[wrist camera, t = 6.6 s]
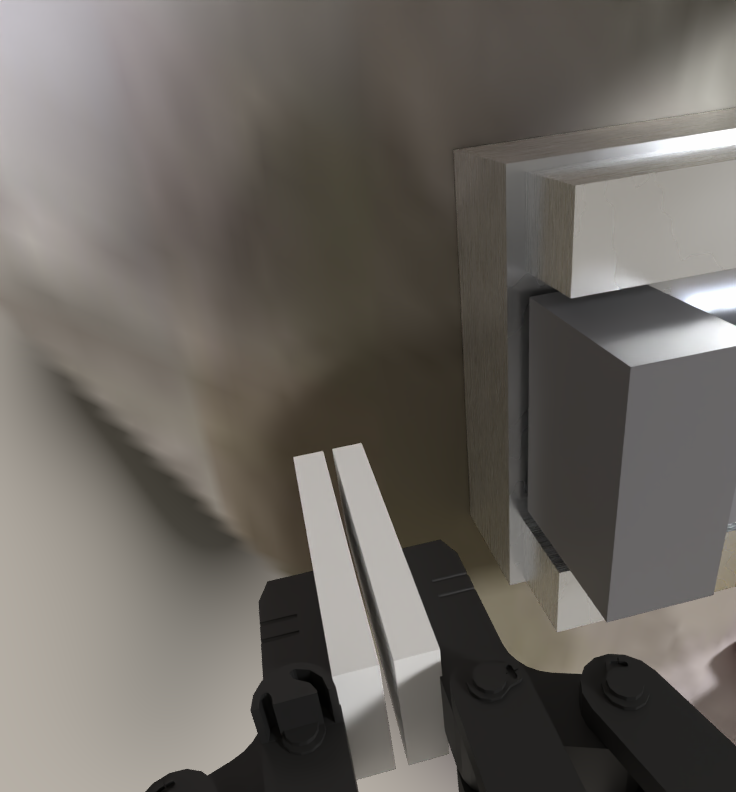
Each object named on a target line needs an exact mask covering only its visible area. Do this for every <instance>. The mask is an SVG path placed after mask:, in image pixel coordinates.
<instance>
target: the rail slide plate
mask: <svg viewBox="0 0 736 792" xmlns="http://www.w3.org/2000/svg"><path fill="white" fill-rule="evenodd" d="M454 172H455V193H456V214H457V236H458V257H459V279H460V300H461V321H462V343H463V364H464V386H465V407H466V428H467V450H468V471H469V493H470V514H471V517H472V519H473V521H474V522H475V524H476V526H477V528H478V530H479V531H480V533H481V535H482V537H483V538H484V540H485V542H486V544H487V545H488V547H489V549H490V551H491V553H492V554H493V556H494V558H495V560H496V561H497V563H498V565H499V567H500V569H501V570H502V572H503V574H504V576H505V577H506V579H507V581H508V583H509V584H510V585H513V584H517V583H521V582H525V581H526V582H527V583H528V585H529V587H530V588H531V590H532V592H533V593H534V595H535V597H536V598H537V600H538V602H539V603H540V605H541V607H542V608H543V610H544V612H545V613H546V615H547V617H548V618H549V620H550V622H551V623H552V625H553V627H554V628H555V630H556V632H560V631H564V630H568V629H572V628H576V627H580V626H583V625H587V624H591V623H595V622H599V621H603V620H605V619H604V618H603V617H602V615H601V614H600V612H599V611H598V609H597V608H596V607H595V605H594V604H593V602H592V601H591V600H590V598H589V597H588V595H587V594H586V592H585V591H584V590H583V588H582V587H581V585H580V584H579V583H578V581H577V580H576V578H575V577H574V575H573V574H572V573H571V571H570V570H569V568H568V567H567V566H566V564H565V563H564V561H563V560H562V558H561V557H560V556H559V554H558V553H557V551H556V550H555V549H554V547H553V546H552V544H551V543H550V542H549V540H548V539H547V537H546V536H545V534H544V533H543V532H542V530H541V529H540V527H539V526H538V525H537V523H536V522H535V520H534V519H533V517H532V516H531V515H530V513H529V512H528V412H529V297H532V296H538V295H543V294H548V293H554V292H561V293H563V294H564V295H566V296H568V297H569V298H576V297H581V296H587V295H592V294H598V293H603V292H608V291H614V290H619V289H625V288H630V287H635V286H641V285H646V284H647V285H649V286H651V287H654V288H656V289H658V290H660V291H662V292H664V293H666V294H669V295H671V296H673V297H675V298H677V299H679V300H681V301H684V302H686V303H688V304H690V305H692V306H694V307H696V308H699V309H701V310H703V311H705V312H707V313H709V314H711V315H714V316H716V317H718V318H720V319H722V320H724V321H726V322H728V323H731V324H733V325H735V326H736V108H729V109H723V110H716V111H709V112H703V113H696V114H689V115H683V116H676V117H669V118H662V119H656V120H649V121H642V122H636V123H629V124H622V125H616V126H609V127H602V128H596V129H589V130H582V131H576V132H569V133H562V134H556V135H549V136H542V137H536V138H529V139H522V140H516V141H509V142H502V143H495V144H489V145H482V146H475V147H469V148H462V149H455V150H454ZM735 586H736V522H735V523H731V524H728V526H727V531H726V536H725V541H724V546H723V551H722V556H721V561H720V566H719V570H718V575H717V580H716V585H715V590H714V592H716V591H720V590H724V589H728V588H731V587H735Z"/></svg>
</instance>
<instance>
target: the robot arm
mask: <svg viewBox="0 0 736 792" xmlns="http://www.w3.org/2000/svg"><path fill="white" fill-rule="evenodd" d="M332 451H333V457H334V463H335V469H336V474H337V480H338V486H339V492H340V498H341V504H342V510H343V516H344V521H345V527H346V533H347V537H348V541H349V544H350V548H351V552H352V556H353V559H354V563H355V567H356V570H357V574H358V578H359V582H360V585H361V589H362V593H363V597H364V600H365V604H366V608H367V612H368V615H369V619H370V623H371V627H372V630H373V634H374V638H375V641H376V645H377V649H378V653H379V656H380V660H381V664H382V668H383V671H384V675H385V679H386V683H387V686H388V690H389V694H390V697H391V701H392V705H393V708H394V712H395V716H396V719H397V723H398V727H399V731H400V735H401V739H402V742H403V746H404V750H405V754H406V757H407V761H408V764H409V765H412V764H415V763H418V762H422V761H426V760H430V759H433V758H436V757H440V756H444V755H447V754H449V745H448V742H449V744H450V748H451V751H452V754H453V757H454V759H455V762H456V765H457V775H458V787H459V792H736V746H735V745H734V744H733V743H732V742H731V741H730V740H729V739H728V738H727V737H726V736H725V735H723V734H722V733H721V732H720V731H719V730H718V729H717V728H716V727H715V726H714V725H713V724H712V723H711V722H710V721H709V720H707V719H706V718H705V717H704V716H703V715H702V714H701V713H700V712H699V711H698V710H697V709H696V708H695V707H694V706H693V705H691V704H690V703H689V702H688V701H687V700H686V699H685V698H684V697H683V696H682V695H681V694H680V693H679V692H678V691H677V690H675V689H674V688H673V687H672V686H671V685H670V684H669V683H668V682H667V681H666V680H665V679H664V678H663V677H662V676H661V675H659V674H658V673H657V672H656V671H655V670H654V669H652V668H651V667H649V666H648V665H647V664H645V663H644V662H642V661H641V660H638V659H635V658H632V657H629V656H626V655H618V654H607V655H603V656H600V657H596V658H594V659H593V660H592V661H590V662H589V663H588V664H587V665H586V666H585V667H584V670H583V673H582V674H567V673H550V672H543V671H538V670H535V669H532V668H530V667H527V666H525V665H524V664H522V663H520V662H519V661H517V660H516V659H515V658H514V657H513V656H511V655H510V654H509V653H508V651H507V650H506V648H505V647H504V645H503V644H502V642H501V640H500V638H499V636H498V634H497V632H496V630H495V628H494V626H493V624H492V622H491V620H490V618H489V616H488V614H487V612H486V610H485V608H484V606H483V604H482V602H481V600H480V598H479V596H478V594H477V592H476V590H474V586H473V584H472V582H471V580H470V578H469V576H468V575H467V573H466V570H465V568H464V566H463V564H462V562H461V560H460V558H459V556H458V554H457V553H456V552H455V551H454V550H453V549H451V548H450V547H449V546H448V545H446V544H445V543H444V542H443V541H441V540H437V541H433V542H428V543H424V544H420V545H415V546H411V547H407V548H403V549H402V548H401V546H400V543H399V540H398V538H397V535H396V532H395V530H394V527H393V525H392V522H391V519H390V517H389V514H388V511H387V509H386V506H385V503H384V501H383V498H382V496H381V493H380V490H379V488H378V485H377V482H376V480H375V477H374V475H373V472H372V469H371V467H370V464H369V461H368V459H367V456H366V454H365V451H364V448H363V446H362V443H359V444H354V445H349V446H344V447H339V448H335V449H332ZM293 458H294V464H295V470H296V475H297V481H298V487H299V492H300V498H301V504H302V509H303V515H304V521H305V526H306V532H307V538H308V543H309V549H310V555H311V560H312V566H313V571H310V572H306V573H302V574H298V575H293V576H289V577H285V578H280V579H276V580H272V581H268V582H267V584H266V586H265V589H264V591H263V593H262V595H261V598H260V600H259V615H260V626H261V627H260V632H261V642H262V644H261V650H262V667H263V681H262V682H261V683H260V685H259V686H258V688H257V690H256V692H255V693H254V695H253V699H252V706H251V713H252V716H253V720H254V723H255V726H256V729H257V732H258V734H257V736H256V737H255V739H254V741H253V742H252V743H251V744H250V745H249V746H248V748H247V749H246V750H245V751H244V752H243V753H241V754H240V755H239V756H237V757H236V758H235V759H233V760H232V761H230V762H229V763H227V764H226V765H224V766H222V767H221V768H219V769H217V770H216V771H214V772H213V773H211V774H209V775H208V776H207V775H206V774H204V773H203V772H201V771H196V770H190V769H185V770H181V771H176V772H172V773H169V774H167V775H166V776H164V777H163V778H161V779H159V780H158V781H156V782H154V783H153V784H152V785H151V786H150V787H149V788H148V790H147V791H146V792H358V787H357V782H356V780H358V779H362V778H365V777H369V776H372V775H376V774H379V773H383V772H387V771H390V770H394V769H396V766H395V760H394V754H393V748H392V741H391V735H390V729H389V722H388V717H387V710H386V703H385V697H384V691H383V684H382V678H381V672H380V666H379V661H378V658H377V654H376V650H375V646H374V642H373V639H372V635H371V631H370V627H369V623H368V620H367V616H366V612H365V608H364V605H363V601H362V597H361V593H360V589H359V586H358V582H357V578H356V574H355V570H354V567H353V563H352V559H351V555H350V551H349V548H348V544H347V540H346V536H345V532H344V529H343V525H342V521H341V517H340V513H339V510H338V506H337V502H336V498H335V494H334V491H333V487H332V483H331V479H330V475H329V472H328V468H327V464H326V460H325V457H324V453H323V451H320V452H315V453H311V454H306V455H301V456H296V457H293Z"/></svg>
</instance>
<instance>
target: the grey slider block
mask: <svg viewBox="0 0 736 792" xmlns="http://www.w3.org/2000/svg"><path fill="white" fill-rule="evenodd" d="M528 512H529V513H530V515H531V516H532V517H533V519H534V520H535V522H536V523H537V525H538V526H539V527H540V529H541V530H542V532H543V533H544V534H545V536H546V537H547V539H548V540H549V542H550V543H551V544H552V546H553V547H554V549H555V550H556V551H557V553H558V554H559V556H560V557H561V558H562V560H563V561H564V563H565V564H566V566H567V567H568V568H569V570H570V571H571V573H572V574H573V575H574V577H575V578H576V580H577V581H578V583H579V584H580V585H581V587H582V588H583V590H584V591H585V592H586V594H587V595H588V597H589V598H590V600H591V601H592V602H593V604H594V605H595V607H596V608H597V609H598V611H599V612H600V614H601V615H602V617H603V618H604V619H605V621H606V622H610V621H614V620H618V619H622V618H626V617H629V616H633V615H637V614H641V613H645V612H649V611H653V610H657V609H661V608H664V607H668V606H672V605H676V604H680V603H684V602H688V601H692V600H696V599H699V598H703V597H707V596H711V595H714V590H715V585H716V580H717V575H718V570H719V566H720V561H721V556H722V551H723V546H724V541H725V536H726V531H727V526H728V524H731V523H735V522H736V326H735V325H733V324H731V323H728V322H726V321H724V320H722V319H720V318H718V317H716V316H714V315H711V314H709V313H707V312H705V311H703V310H701V309H699V308H696V307H694V306H692V305H690V304H688V303H686V302H684V301H681V300H679V299H677V298H675V297H673V296H671V295H669V294H666V293H664V292H662V291H660V290H658V289H656V288H654V287H651V286H649V285H647V284H646V285H641V286H635V287H630V288H625V289H619V290H614V291H608V292H603V293H598V294H592V295H587V296H581V297H576V298H569V297H568V296H566V295H564V294H563V293H561V292H554V293H548V294H543V295H538V296H532V297H529V412H528Z"/></svg>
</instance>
